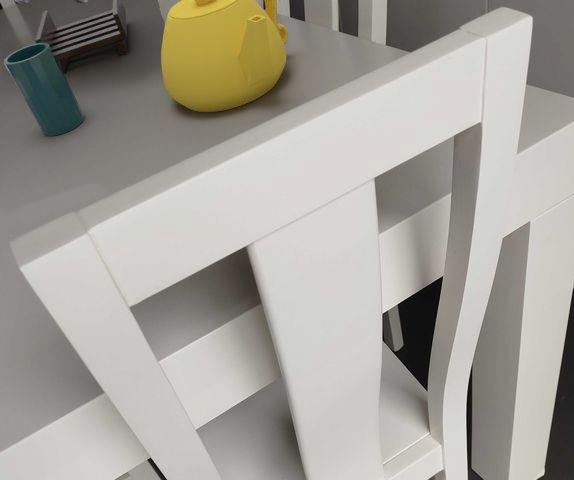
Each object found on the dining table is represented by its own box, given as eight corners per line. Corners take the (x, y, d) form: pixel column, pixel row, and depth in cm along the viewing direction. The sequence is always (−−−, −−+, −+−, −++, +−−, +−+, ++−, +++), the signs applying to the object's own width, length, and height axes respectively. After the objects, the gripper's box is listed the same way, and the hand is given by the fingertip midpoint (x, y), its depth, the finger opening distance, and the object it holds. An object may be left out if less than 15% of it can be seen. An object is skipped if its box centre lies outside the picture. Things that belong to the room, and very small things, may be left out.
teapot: (152, 100, 83) (113, 2, 74) (258, 44, 88) (234, -54, 79) (227, 137, 70) (190, 24, 61) (345, 69, 75) (328, -44, 66)
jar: (172, 42, 98) (143, -40, 89) (218, 27, 98) (194, -57, 89) (176, 60, 92) (146, -26, 83) (226, 44, 92) (201, -45, 83)
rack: (53, 77, 100) (35, 40, 95) (59, 45, 111) (43, 11, 107) (132, 51, 99) (117, 13, 95) (130, 22, 111) (116, -13, 107)
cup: (41, 140, 82) (0, 68, 75) (44, 122, 87) (6, 52, 79) (83, 127, 82) (46, 53, 75) (85, 109, 87) (50, 38, 79)
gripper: (129, -104, 80) (128, 8, 83) (2, -96, 85) (5, 10, 88) (103, -130, 74) (103, -8, 77) (-32, -120, 79) (-27, -5, 82)
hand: (50, 2), depth 83 cm, fingers open, 8 cm apart
